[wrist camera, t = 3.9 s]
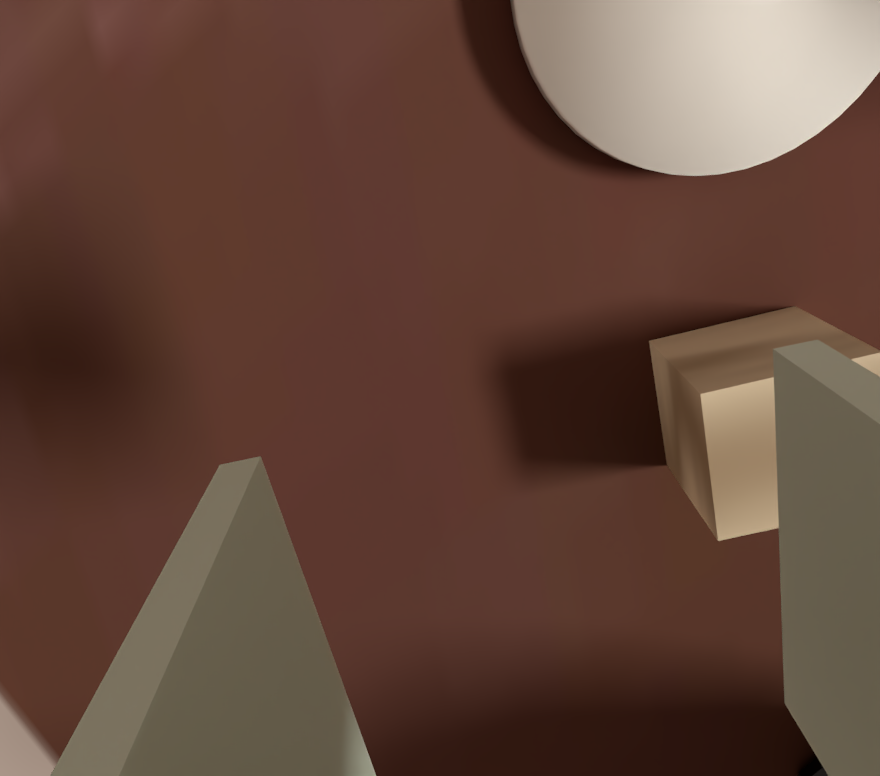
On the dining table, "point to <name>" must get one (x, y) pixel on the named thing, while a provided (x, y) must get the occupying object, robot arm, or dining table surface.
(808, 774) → the robot arm
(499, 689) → the dining table surface
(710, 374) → the block
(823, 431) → the cover
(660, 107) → the saucer
